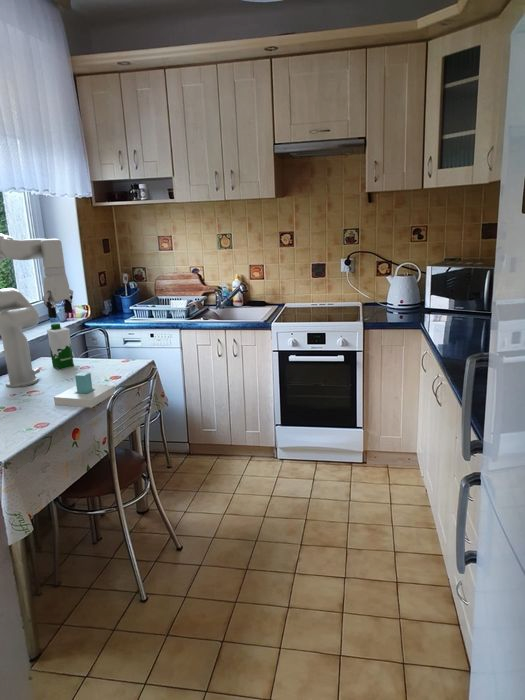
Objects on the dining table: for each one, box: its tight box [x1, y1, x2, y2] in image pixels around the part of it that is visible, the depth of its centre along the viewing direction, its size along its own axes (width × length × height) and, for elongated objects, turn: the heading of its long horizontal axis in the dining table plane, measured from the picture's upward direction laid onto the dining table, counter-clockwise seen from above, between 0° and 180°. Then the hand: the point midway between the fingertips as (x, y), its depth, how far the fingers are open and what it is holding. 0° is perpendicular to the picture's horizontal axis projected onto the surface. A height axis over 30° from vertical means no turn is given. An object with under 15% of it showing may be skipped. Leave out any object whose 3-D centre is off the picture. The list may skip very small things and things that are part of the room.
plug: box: [74, 371, 93, 394], centre depth 201 cm, size 4×4×10 cm
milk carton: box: [46, 322, 75, 370], centre depth 245 cm, size 9×9×20 cm
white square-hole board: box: [53, 383, 116, 408], centre depth 205 cm, size 22×16×3 cm
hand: (61, 315), depth 208 cm, fingers open, 9 cm apart
